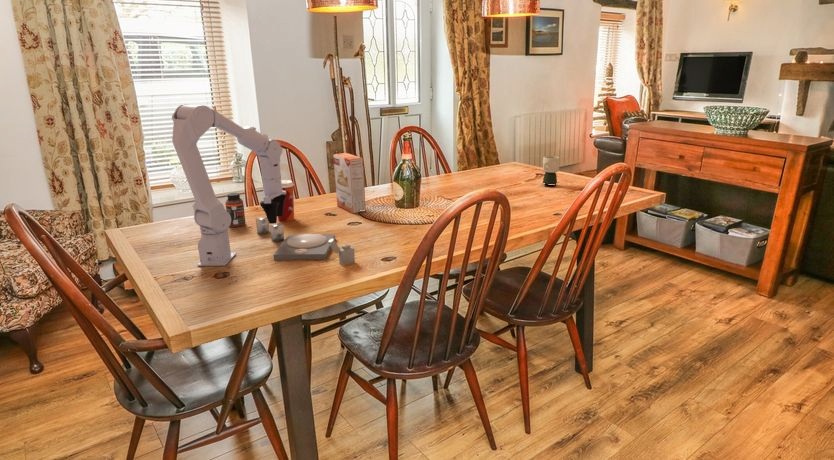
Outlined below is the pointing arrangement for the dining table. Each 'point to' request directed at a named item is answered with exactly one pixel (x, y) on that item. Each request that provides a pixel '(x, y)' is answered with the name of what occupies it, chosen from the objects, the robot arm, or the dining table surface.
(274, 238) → the cylinder
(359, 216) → the dining table surface
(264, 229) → the spacer
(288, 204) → the paper cup
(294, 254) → the kitchen scale
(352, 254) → the lighter
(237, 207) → the supplement bottle
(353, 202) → the cracker box
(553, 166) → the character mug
